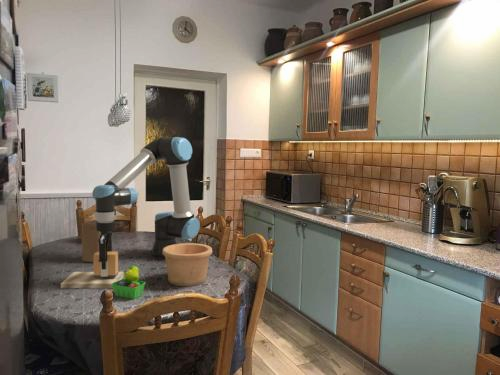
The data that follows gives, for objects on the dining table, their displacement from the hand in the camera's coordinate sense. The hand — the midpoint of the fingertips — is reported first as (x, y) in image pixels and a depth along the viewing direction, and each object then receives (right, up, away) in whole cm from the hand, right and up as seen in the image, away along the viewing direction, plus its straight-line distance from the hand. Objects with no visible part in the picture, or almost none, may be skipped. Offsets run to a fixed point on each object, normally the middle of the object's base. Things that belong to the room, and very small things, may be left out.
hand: (106, 273), depth 173 cm
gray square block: (-18, -4, -2) cm, 19 cm away
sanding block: (0, -1, 0) cm, 1 cm away
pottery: (+34, -4, +5) cm, 35 cm away
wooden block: (-17, 0, +32) cm, 37 cm away
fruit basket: (+15, -5, -14) cm, 21 cm away
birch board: (-5, -3, 0) cm, 6 cm away
